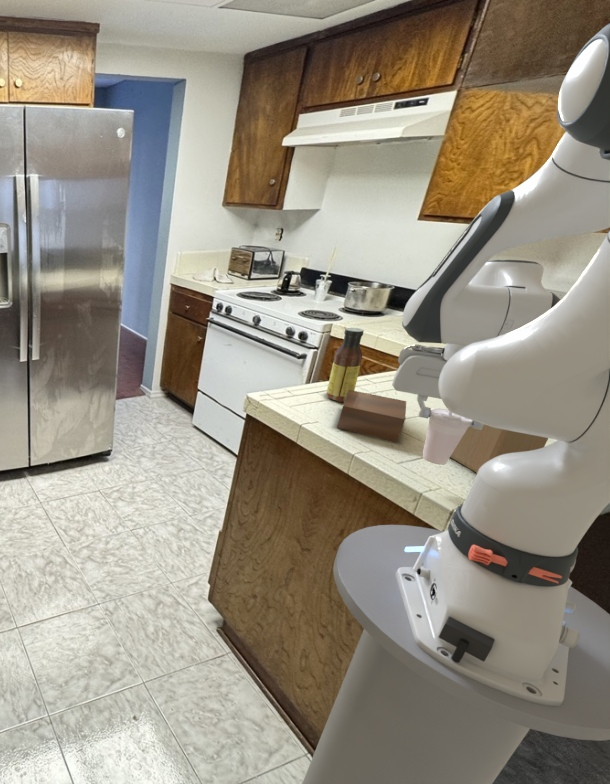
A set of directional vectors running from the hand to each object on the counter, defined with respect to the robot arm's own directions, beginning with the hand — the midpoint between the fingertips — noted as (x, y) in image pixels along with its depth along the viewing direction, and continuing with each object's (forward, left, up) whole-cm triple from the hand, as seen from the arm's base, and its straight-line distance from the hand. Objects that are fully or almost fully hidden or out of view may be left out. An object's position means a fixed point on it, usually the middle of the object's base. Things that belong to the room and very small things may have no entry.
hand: (449, 422), depth 89 cm
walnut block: (+21, +11, -13) cm, 28 cm away
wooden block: (+14, -10, -14) cm, 22 cm away
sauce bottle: (+35, +19, -14) cm, 42 cm away
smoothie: (0, 0, -8) cm, 8 cm away
